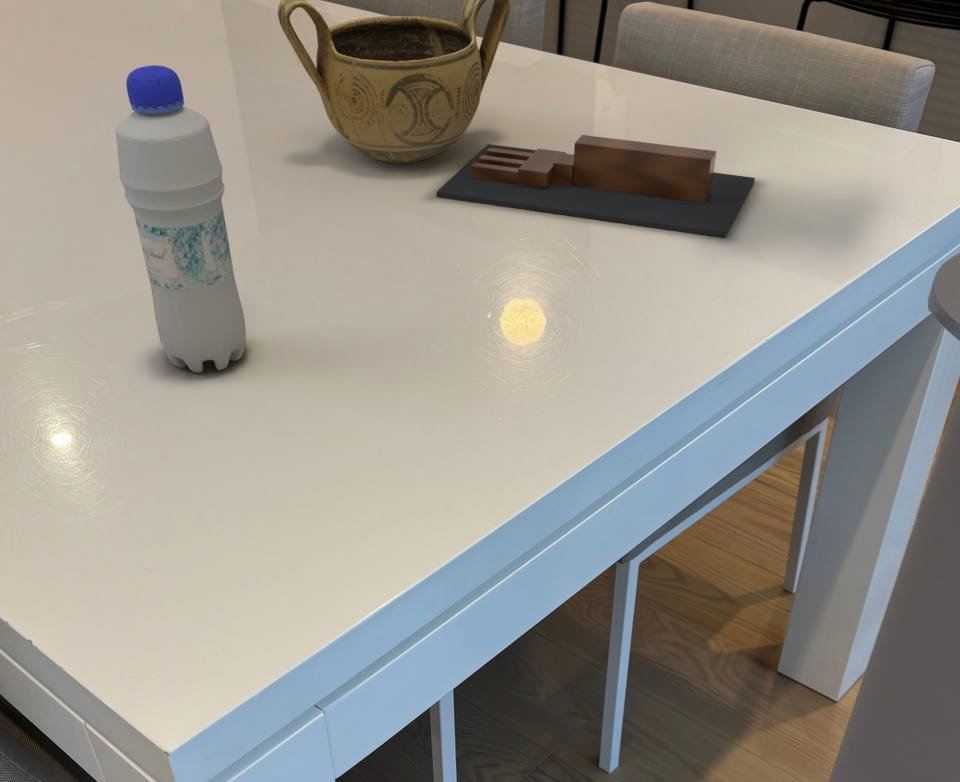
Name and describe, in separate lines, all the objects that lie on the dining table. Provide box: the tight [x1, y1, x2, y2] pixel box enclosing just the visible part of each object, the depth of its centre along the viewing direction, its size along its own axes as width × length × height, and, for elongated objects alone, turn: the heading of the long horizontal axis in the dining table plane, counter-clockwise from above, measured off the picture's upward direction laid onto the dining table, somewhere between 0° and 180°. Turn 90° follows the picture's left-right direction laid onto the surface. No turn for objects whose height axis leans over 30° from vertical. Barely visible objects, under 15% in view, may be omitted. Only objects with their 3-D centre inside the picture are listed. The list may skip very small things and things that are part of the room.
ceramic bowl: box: [277, 0, 511, 164], centre depth 107 cm, size 22×17×15 cm
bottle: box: [115, 64, 247, 374], centre depth 74 cm, size 7×7×20 cm
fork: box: [471, 134, 717, 203], centre depth 103 cm, size 23×6×4 cm, turn 69°
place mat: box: [436, 143, 756, 238], centre depth 104 cm, size 28×14×1 cm, turn 69°
